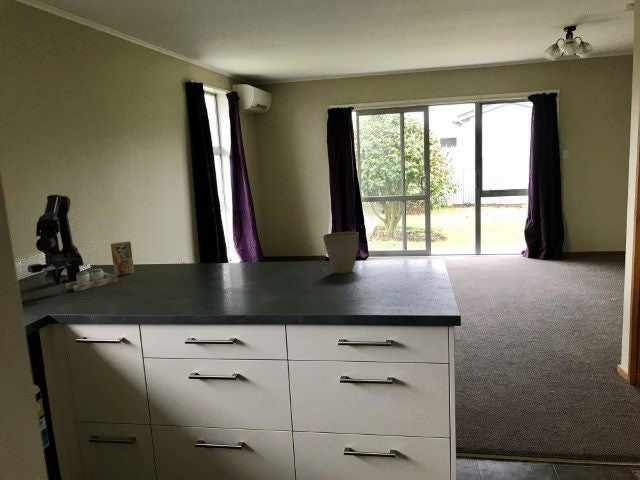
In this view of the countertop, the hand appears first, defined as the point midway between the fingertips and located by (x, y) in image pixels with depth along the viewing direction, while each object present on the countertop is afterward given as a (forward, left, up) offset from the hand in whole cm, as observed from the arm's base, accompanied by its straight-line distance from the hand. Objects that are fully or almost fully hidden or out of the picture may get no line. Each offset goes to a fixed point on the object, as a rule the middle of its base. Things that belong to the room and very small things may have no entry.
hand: (57, 285), depth 217 cm
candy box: (-11, +35, -4) cm, 37 cm away
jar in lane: (0, +17, -4) cm, 18 cm away
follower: (0, +21, -3) cm, 21 cm away
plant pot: (+87, +82, -4) cm, 120 cm away
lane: (0, +14, -4) cm, 15 cm away
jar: (0, +11, -4) cm, 12 cm away
